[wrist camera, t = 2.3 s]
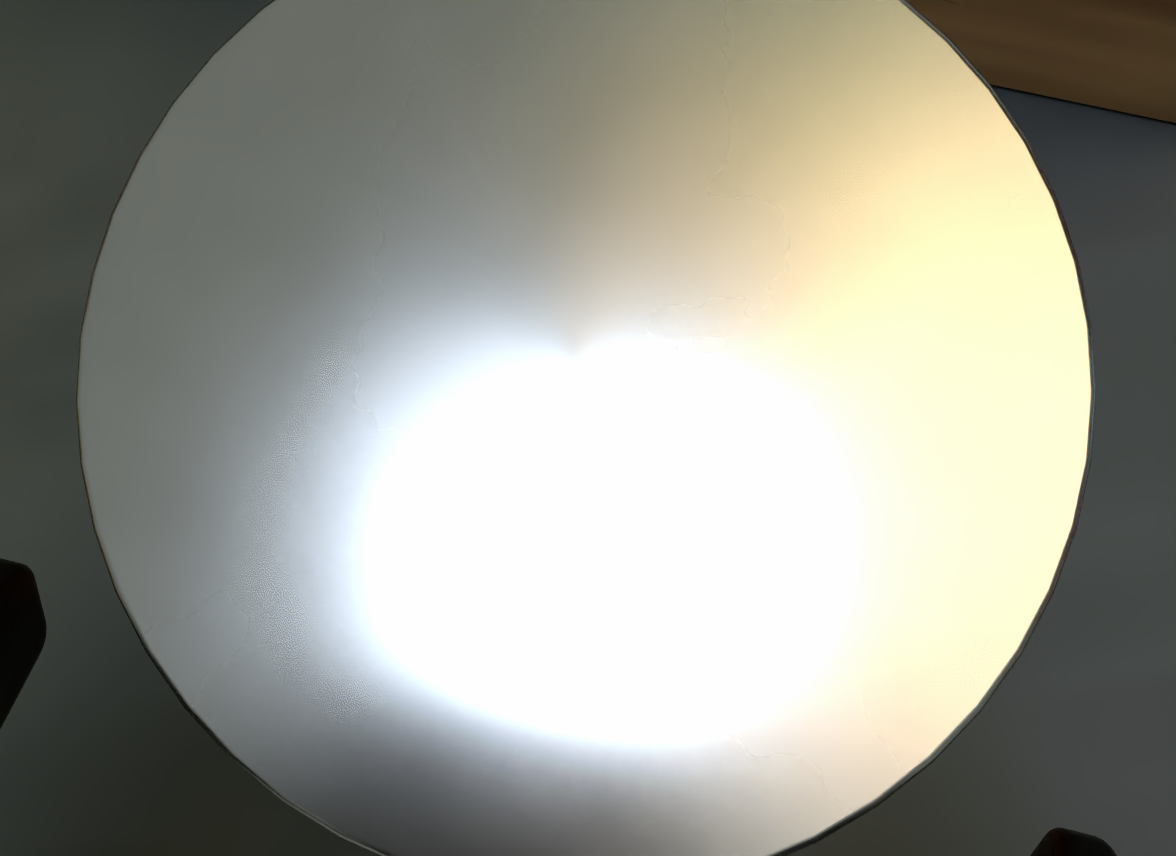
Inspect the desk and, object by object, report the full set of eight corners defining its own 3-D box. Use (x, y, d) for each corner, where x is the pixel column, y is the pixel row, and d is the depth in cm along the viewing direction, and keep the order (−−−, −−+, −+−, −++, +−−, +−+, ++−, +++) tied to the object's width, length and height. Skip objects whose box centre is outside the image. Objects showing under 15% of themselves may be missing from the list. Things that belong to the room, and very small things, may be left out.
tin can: (793, 702, 19) (1106, 954, 6) (411, 675, 19) (2, 865, 7) (808, 324, 20) (1112, -102, 7) (441, 304, 20) (127, -136, 8)
